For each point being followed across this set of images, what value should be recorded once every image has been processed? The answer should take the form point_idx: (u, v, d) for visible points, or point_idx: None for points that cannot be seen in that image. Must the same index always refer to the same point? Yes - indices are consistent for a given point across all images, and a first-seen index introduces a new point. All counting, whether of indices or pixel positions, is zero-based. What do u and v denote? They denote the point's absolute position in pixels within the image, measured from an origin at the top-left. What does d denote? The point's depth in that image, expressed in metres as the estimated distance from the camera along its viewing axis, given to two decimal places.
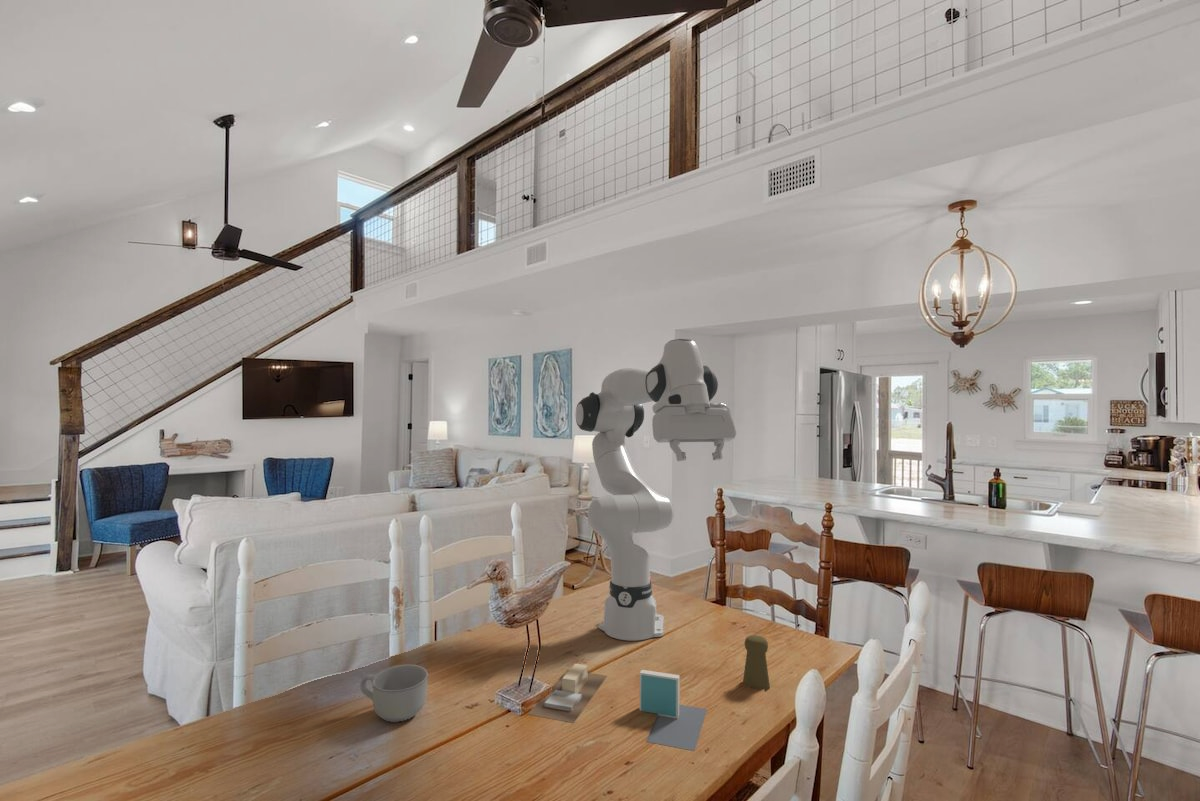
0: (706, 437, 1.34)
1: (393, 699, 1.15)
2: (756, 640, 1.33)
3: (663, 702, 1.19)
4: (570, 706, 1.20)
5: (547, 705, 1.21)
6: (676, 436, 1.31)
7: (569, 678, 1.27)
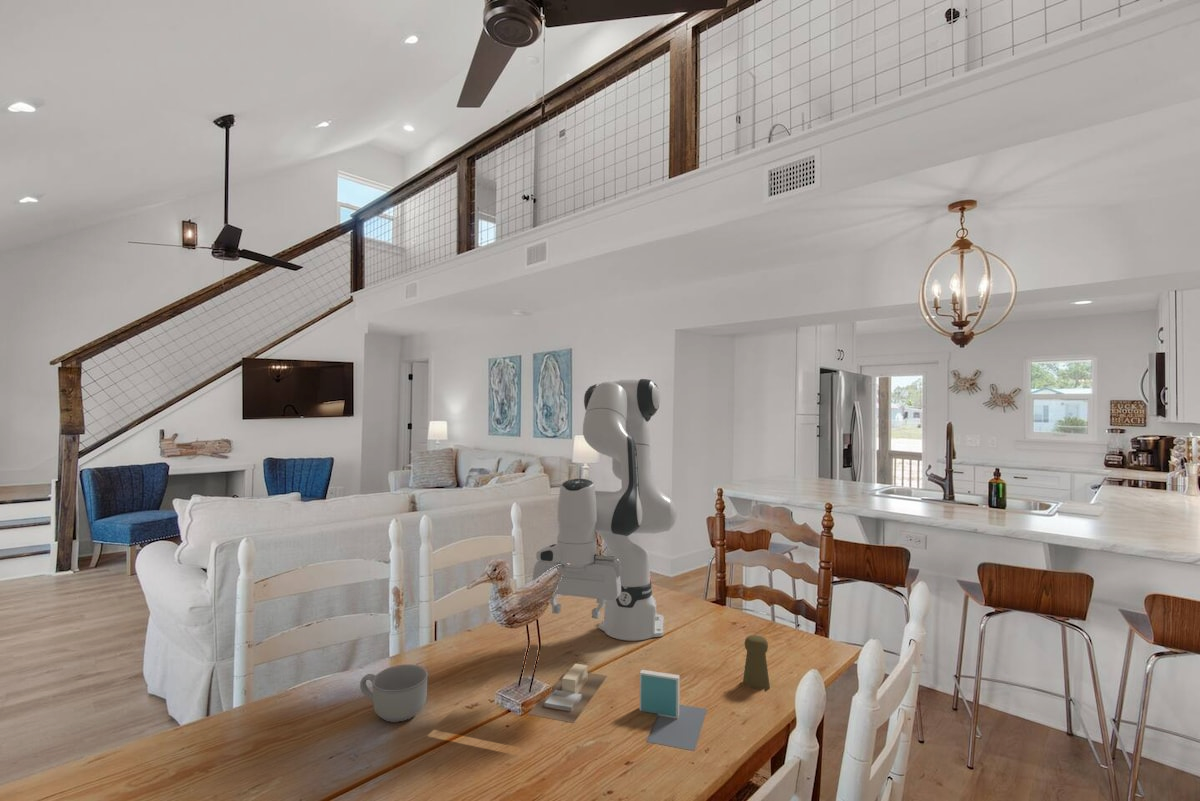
0: (580, 596, 1.29)
1: (393, 699, 1.15)
2: (756, 640, 1.33)
3: (663, 702, 1.19)
4: (570, 706, 1.20)
5: (547, 705, 1.21)
6: None
7: (569, 678, 1.27)
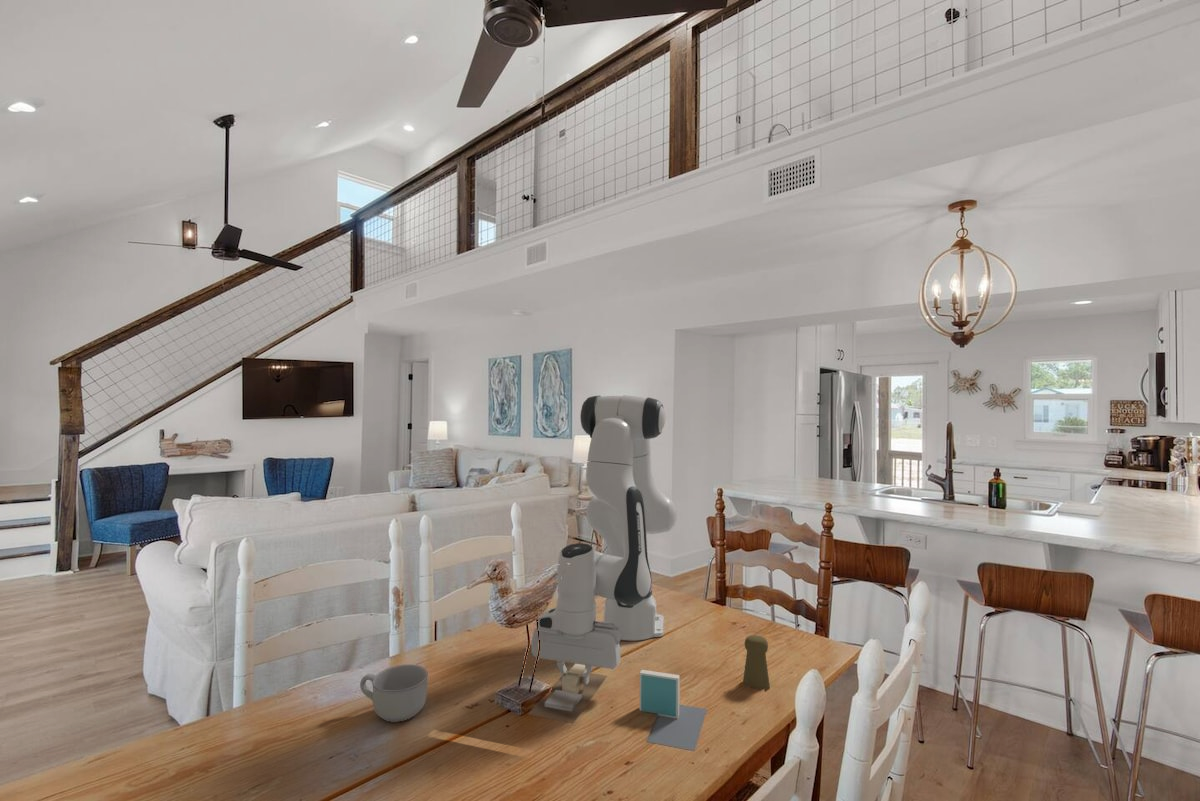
0: (580, 663, 1.28)
1: (393, 699, 1.15)
2: (756, 640, 1.33)
3: (663, 702, 1.19)
4: (570, 706, 1.20)
5: (547, 705, 1.21)
6: (547, 657, 1.31)
7: (569, 678, 1.27)
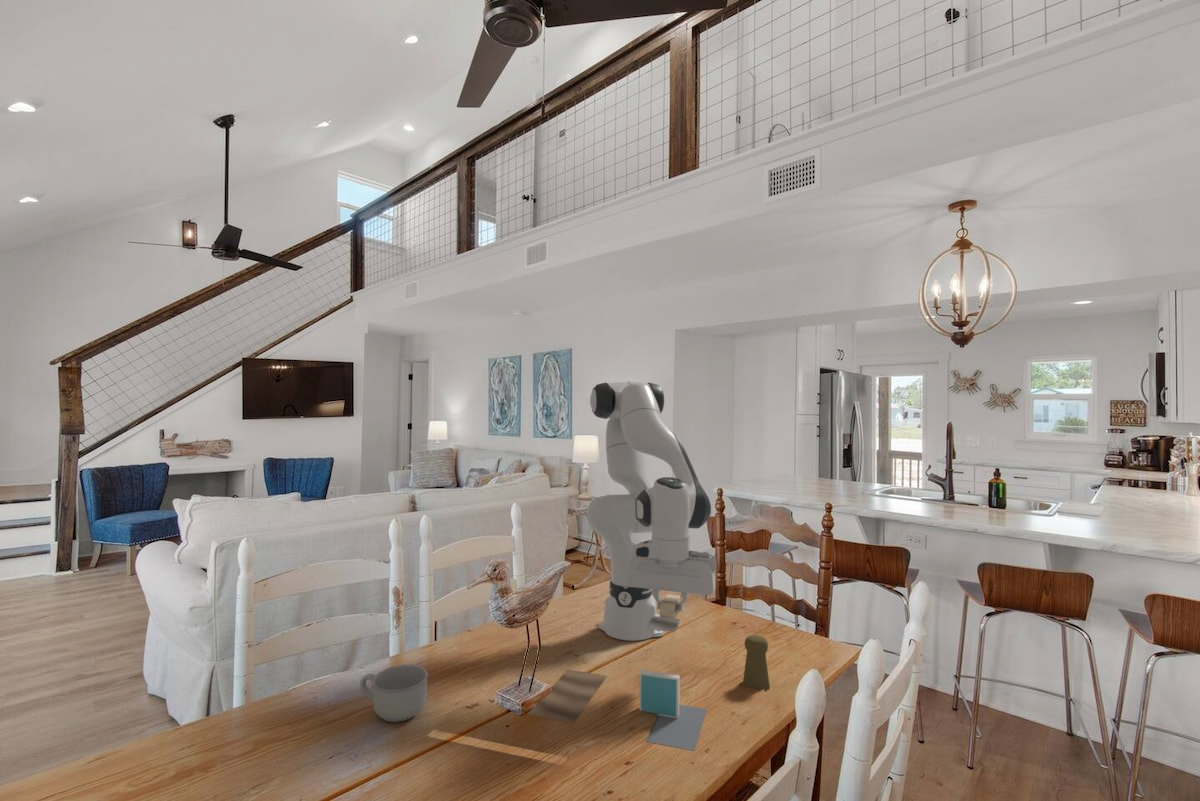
0: (676, 591, 1.33)
1: (393, 699, 1.15)
2: (756, 640, 1.33)
3: (663, 702, 1.19)
4: (672, 627, 1.24)
5: (649, 627, 1.26)
6: (642, 586, 1.35)
7: (666, 604, 1.31)
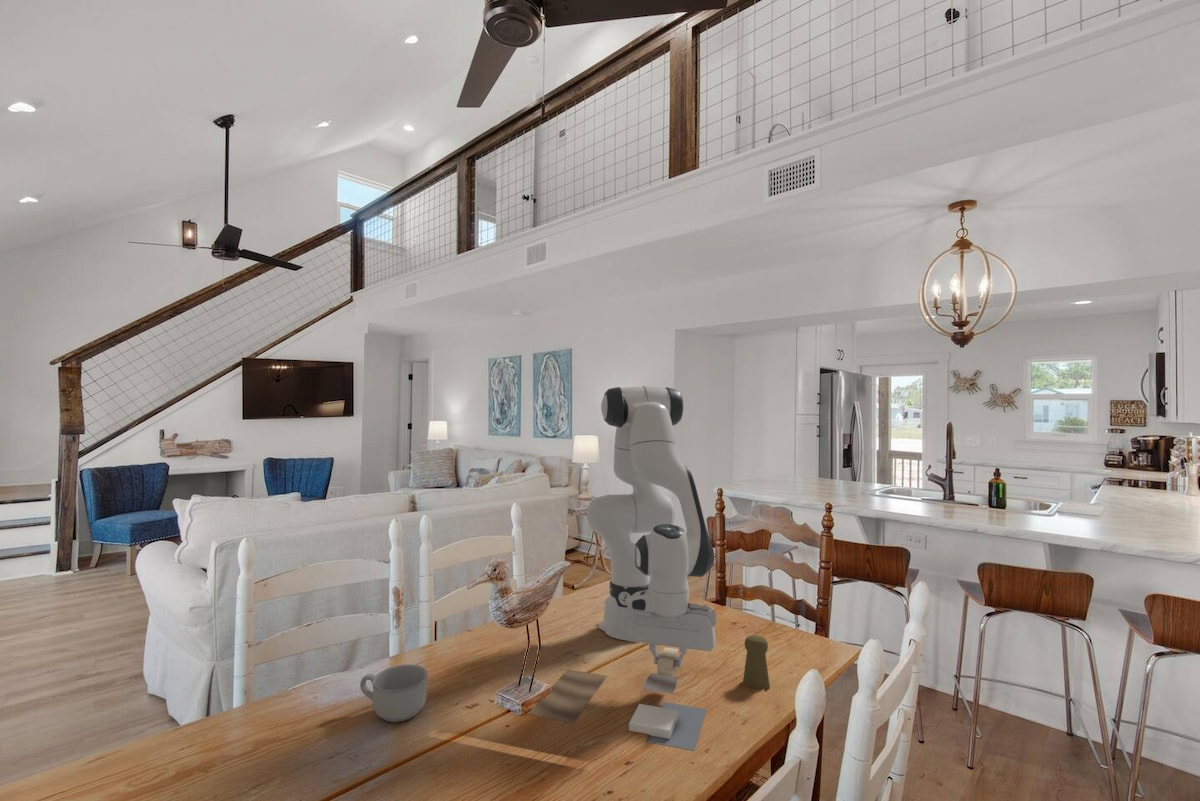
0: (674, 646, 1.26)
1: (393, 699, 1.15)
2: (756, 640, 1.33)
3: None
4: (671, 688, 1.18)
5: (646, 688, 1.19)
6: (639, 640, 1.28)
7: (664, 661, 1.24)
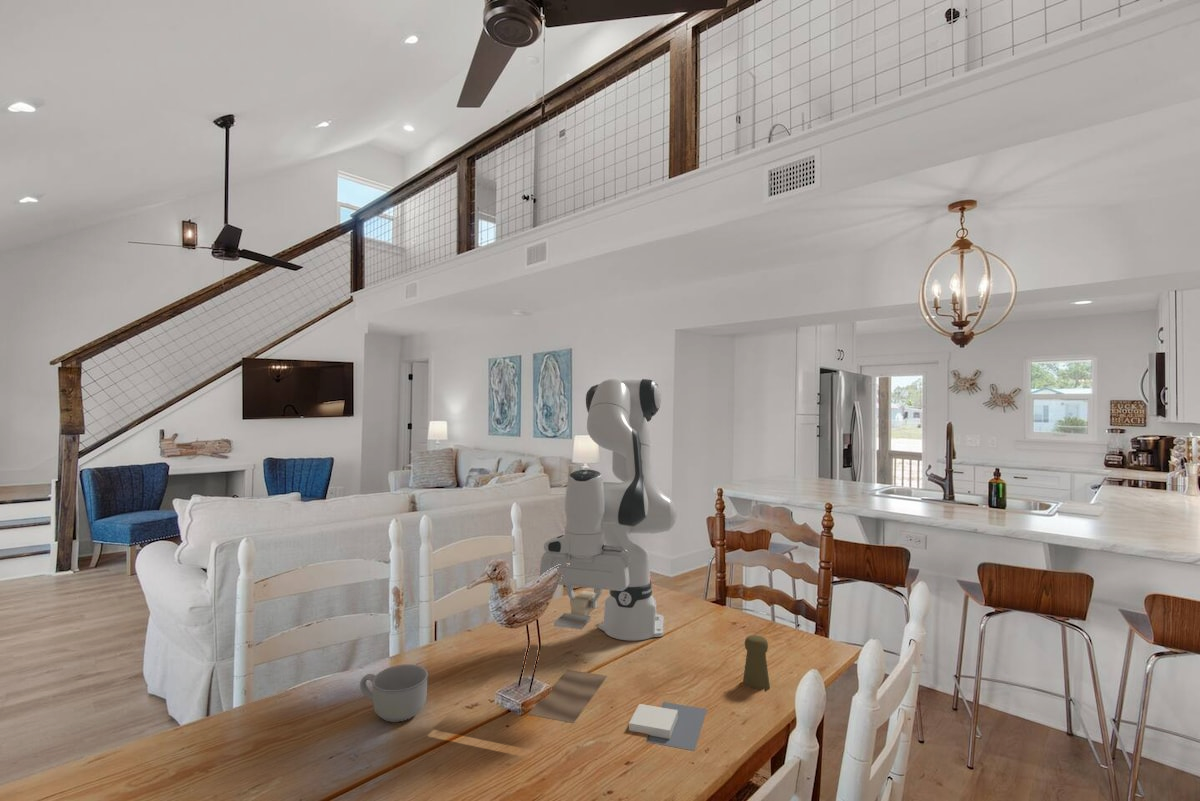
0: (588, 587, 1.28)
1: (393, 699, 1.15)
2: (756, 640, 1.33)
3: None
4: (580, 624, 1.20)
5: (557, 624, 1.21)
6: None
7: (578, 601, 1.27)
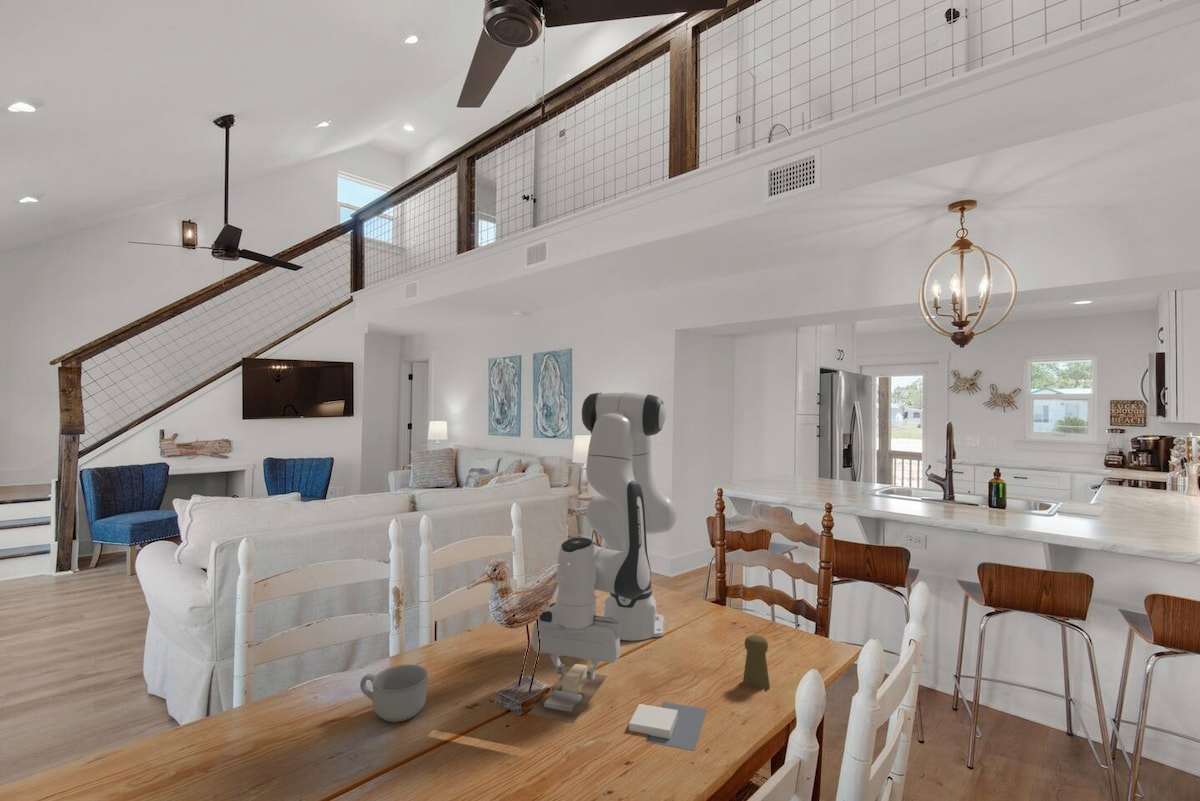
0: (580, 657, 1.28)
1: (393, 699, 1.15)
2: (756, 640, 1.33)
3: None
4: (570, 706, 1.20)
5: (547, 705, 1.21)
6: (547, 651, 1.31)
7: (569, 678, 1.27)
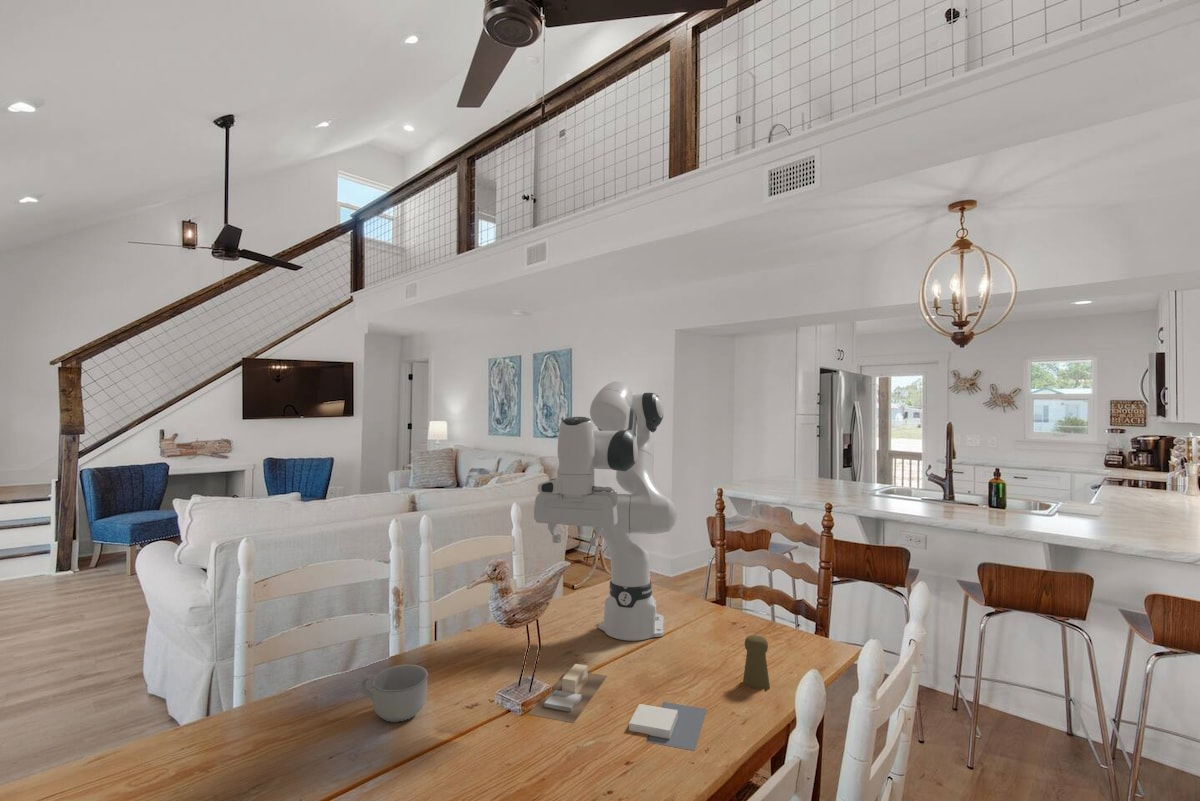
0: (579, 525, 1.36)
1: (393, 699, 1.15)
2: (756, 640, 1.33)
3: None
4: (570, 706, 1.20)
5: (547, 705, 1.21)
6: (548, 521, 1.39)
7: (569, 678, 1.27)
